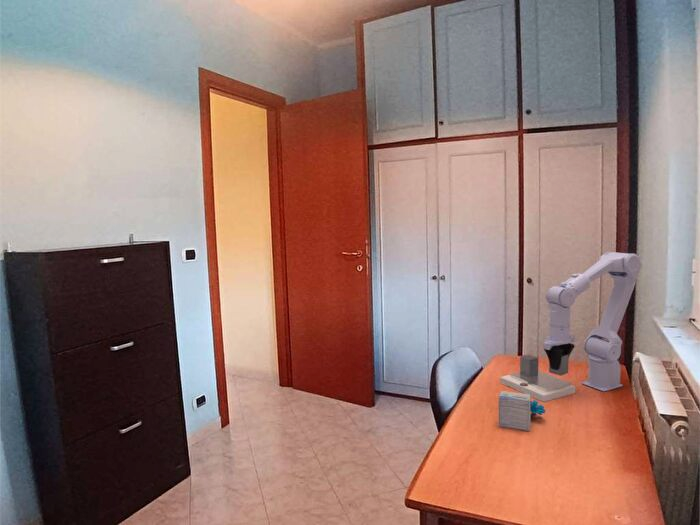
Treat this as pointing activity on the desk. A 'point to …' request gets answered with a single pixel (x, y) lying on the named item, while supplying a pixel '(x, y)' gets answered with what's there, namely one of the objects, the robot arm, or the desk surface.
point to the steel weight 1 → (529, 365)
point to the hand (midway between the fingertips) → (558, 367)
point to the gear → (537, 408)
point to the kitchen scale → (539, 385)
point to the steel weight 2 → (561, 365)
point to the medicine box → (514, 410)
